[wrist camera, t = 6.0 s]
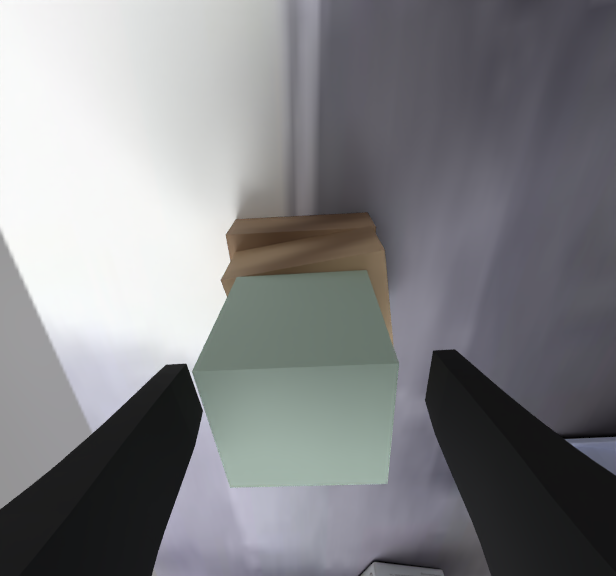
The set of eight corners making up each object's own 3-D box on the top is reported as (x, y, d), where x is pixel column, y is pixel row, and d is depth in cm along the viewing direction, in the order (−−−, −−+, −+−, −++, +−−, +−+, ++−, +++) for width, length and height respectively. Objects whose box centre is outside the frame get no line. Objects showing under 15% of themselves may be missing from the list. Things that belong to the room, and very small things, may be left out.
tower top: (371, 225, 12) (384, 250, 10) (383, 336, 15) (396, 374, 13) (235, 251, 13) (220, 280, 11) (270, 353, 16) (264, 393, 13)
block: (366, 269, 10) (399, 363, 7) (363, 368, 13) (387, 484, 9) (237, 276, 11) (192, 371, 7) (255, 372, 13) (230, 487, 9)
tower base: (366, 209, 15) (376, 227, 12) (361, 316, 17) (369, 345, 15) (237, 216, 15) (225, 234, 13) (255, 320, 18) (247, 350, 15)
